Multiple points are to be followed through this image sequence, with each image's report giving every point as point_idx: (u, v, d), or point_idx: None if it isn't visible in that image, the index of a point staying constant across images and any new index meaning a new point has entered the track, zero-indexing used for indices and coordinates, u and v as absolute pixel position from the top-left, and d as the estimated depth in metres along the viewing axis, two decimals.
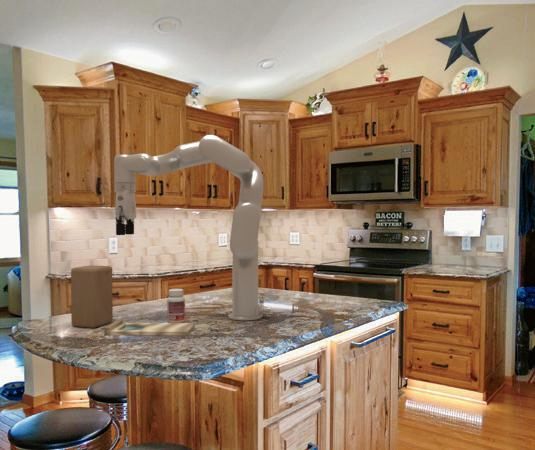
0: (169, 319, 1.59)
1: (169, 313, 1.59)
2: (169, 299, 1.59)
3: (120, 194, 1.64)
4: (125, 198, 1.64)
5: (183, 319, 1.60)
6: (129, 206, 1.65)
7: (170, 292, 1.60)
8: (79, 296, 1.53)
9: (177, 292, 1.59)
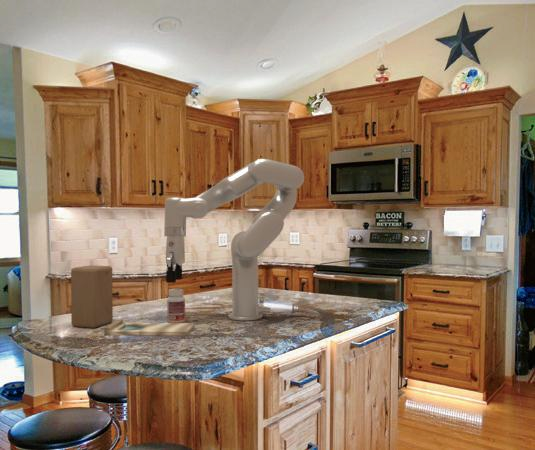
0: (169, 319, 1.59)
1: (169, 313, 1.59)
2: (169, 299, 1.59)
3: (171, 239, 1.57)
4: (176, 244, 1.57)
5: (183, 319, 1.60)
6: (180, 252, 1.58)
7: (170, 292, 1.60)
8: (79, 296, 1.53)
9: (177, 292, 1.59)
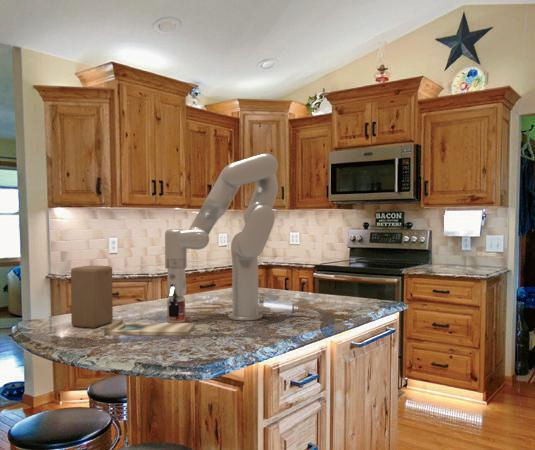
0: (169, 319, 1.59)
1: None
2: None
3: (172, 272, 1.57)
4: (177, 276, 1.57)
5: (183, 319, 1.60)
6: (181, 284, 1.58)
7: None
8: (79, 296, 1.53)
9: None
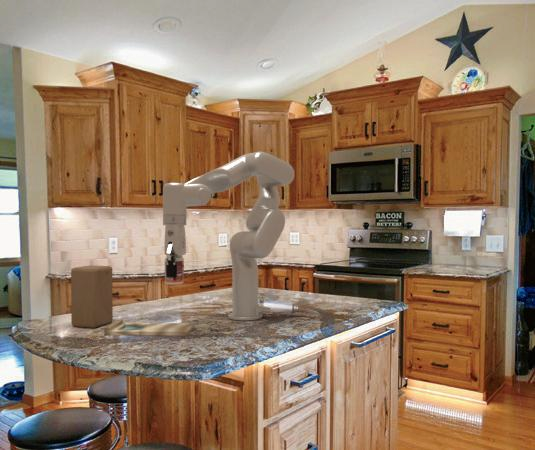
0: (166, 280, 1.46)
1: (166, 273, 1.46)
2: (166, 258, 1.47)
3: (170, 228, 1.44)
4: (176, 233, 1.44)
5: (181, 281, 1.47)
6: (180, 242, 1.45)
7: None
8: (79, 296, 1.53)
9: None
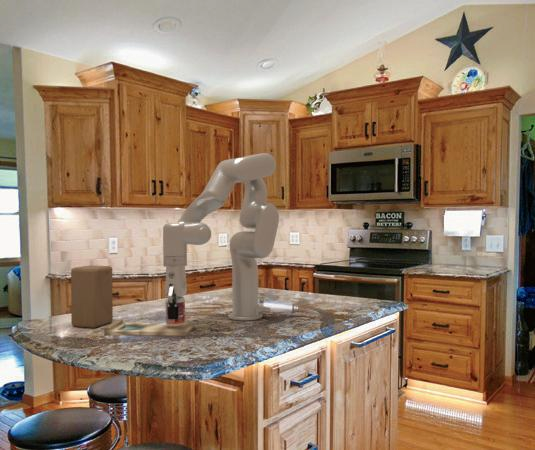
0: (167, 322, 1.45)
1: (167, 315, 1.45)
2: (167, 300, 1.46)
3: (171, 270, 1.43)
4: (177, 275, 1.43)
5: (183, 322, 1.46)
6: (181, 283, 1.44)
7: (168, 292, 1.46)
8: (79, 296, 1.53)
9: None
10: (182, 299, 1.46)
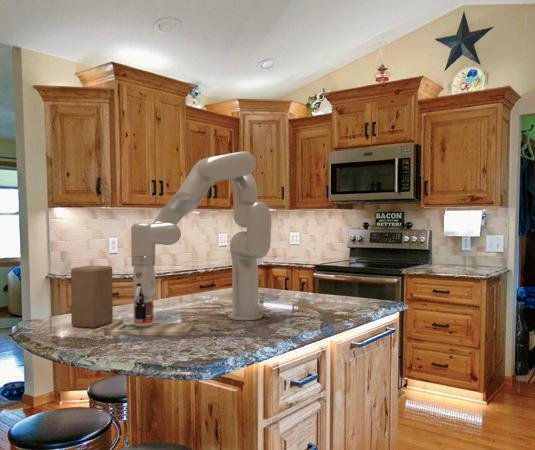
0: (135, 322, 1.46)
1: None
2: None
3: (138, 270, 1.43)
4: (144, 275, 1.43)
5: (151, 321, 1.47)
6: (148, 283, 1.44)
7: None
8: (79, 296, 1.53)
9: None
10: (150, 299, 1.47)
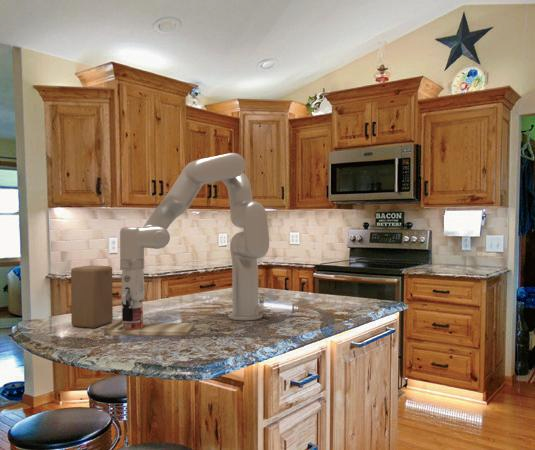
0: (124, 327, 1.46)
1: (124, 321, 1.46)
2: None
3: (127, 274, 1.43)
4: (133, 278, 1.43)
5: (140, 327, 1.47)
6: (137, 287, 1.44)
7: None
8: (79, 296, 1.53)
9: None
10: (139, 305, 1.47)
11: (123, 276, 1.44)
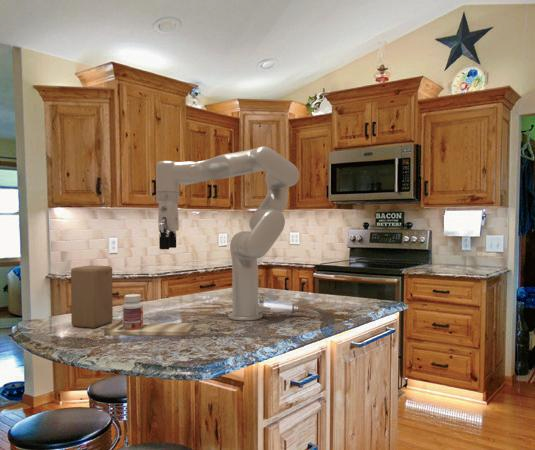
0: (125, 327, 1.46)
1: (124, 321, 1.46)
2: (124, 306, 1.46)
3: (164, 204, 1.50)
4: (169, 209, 1.50)
5: (140, 327, 1.47)
6: (173, 217, 1.51)
7: (126, 298, 1.46)
8: (79, 296, 1.53)
9: (133, 298, 1.46)
10: (139, 305, 1.47)
11: (160, 207, 1.50)
